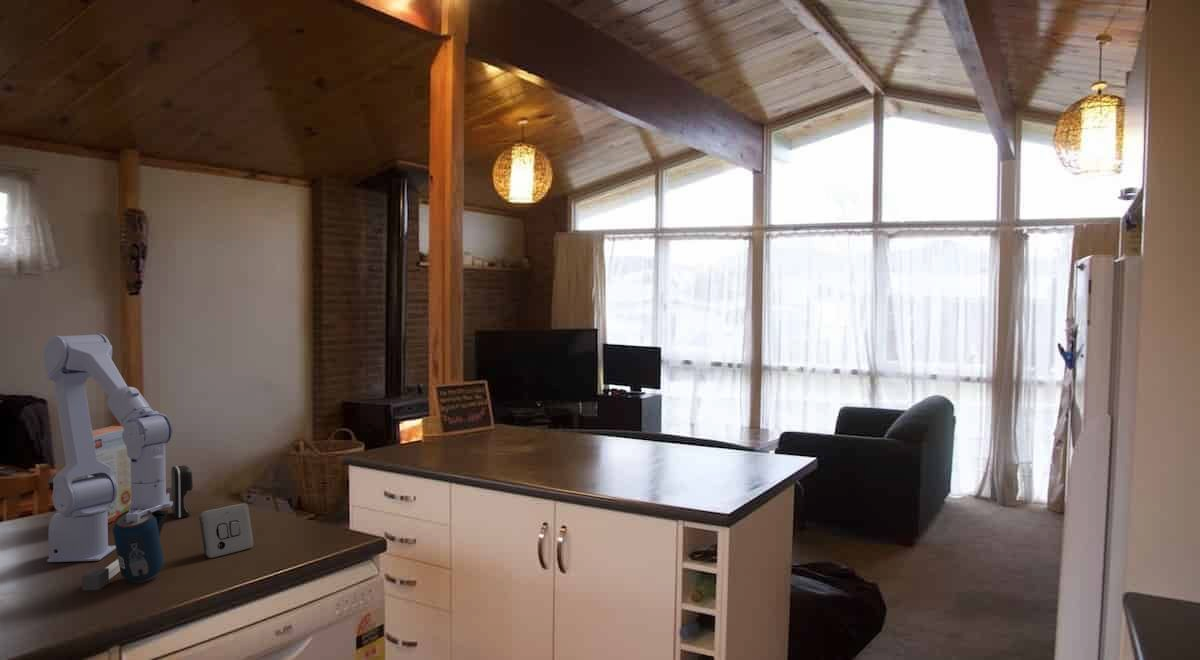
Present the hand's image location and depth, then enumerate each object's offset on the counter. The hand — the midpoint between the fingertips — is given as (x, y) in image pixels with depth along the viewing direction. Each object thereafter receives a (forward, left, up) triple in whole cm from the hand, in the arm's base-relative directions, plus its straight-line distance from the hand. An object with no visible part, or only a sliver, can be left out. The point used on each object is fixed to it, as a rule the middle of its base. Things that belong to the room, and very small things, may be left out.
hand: (149, 551), depth 149 cm
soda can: (0, -3, -3) cm, 4 cm away
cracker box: (-24, +35, -4) cm, 43 cm away
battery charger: (-8, +39, -4) cm, 40 cm away
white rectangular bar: (-7, +3, -4) cm, 8 cm away
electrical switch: (+10, +11, -4) cm, 15 cm away
